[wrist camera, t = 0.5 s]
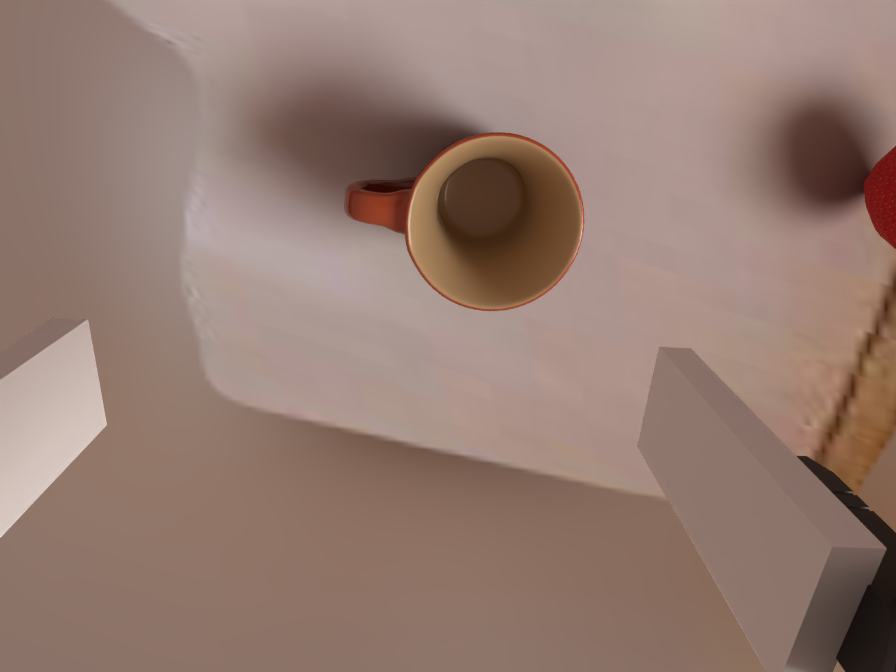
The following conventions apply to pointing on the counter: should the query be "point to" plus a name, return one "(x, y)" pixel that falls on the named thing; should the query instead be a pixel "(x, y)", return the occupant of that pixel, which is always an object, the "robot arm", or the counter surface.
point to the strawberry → (883, 197)
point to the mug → (482, 219)
